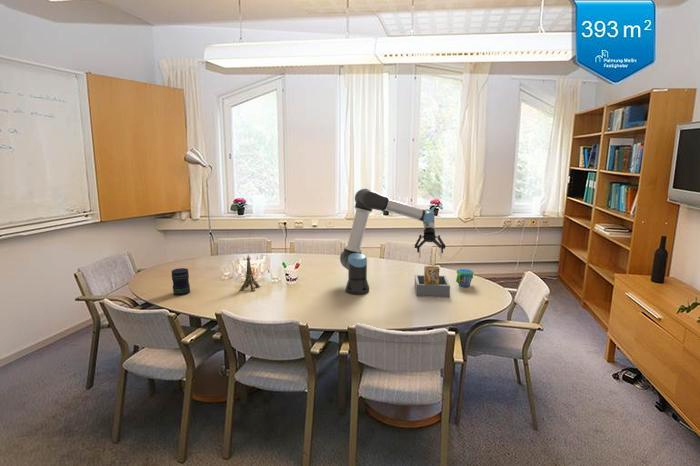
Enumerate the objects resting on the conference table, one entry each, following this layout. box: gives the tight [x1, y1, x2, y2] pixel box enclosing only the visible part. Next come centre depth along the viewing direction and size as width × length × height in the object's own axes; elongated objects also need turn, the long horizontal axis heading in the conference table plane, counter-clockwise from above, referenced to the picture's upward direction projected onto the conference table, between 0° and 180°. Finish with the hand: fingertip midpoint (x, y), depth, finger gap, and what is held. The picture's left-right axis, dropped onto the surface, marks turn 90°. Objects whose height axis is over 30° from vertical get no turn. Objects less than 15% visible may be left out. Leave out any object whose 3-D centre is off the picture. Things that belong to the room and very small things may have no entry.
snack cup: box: [455, 268, 474, 288], centre depth 273 cm, size 16×10×10 cm
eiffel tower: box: [238, 255, 262, 293], centre depth 265 cm, size 11×11×25 cm
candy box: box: [423, 265, 440, 285], centre depth 261 cm, size 9×4×15 cm, turn 91°
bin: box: [413, 274, 451, 298], centre depth 262 cm, size 20×20×8 cm
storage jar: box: [171, 267, 191, 297], centre depth 258 cm, size 10×10×15 cm
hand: (430, 257), depth 269 cm, fingers open, 13 cm apart
